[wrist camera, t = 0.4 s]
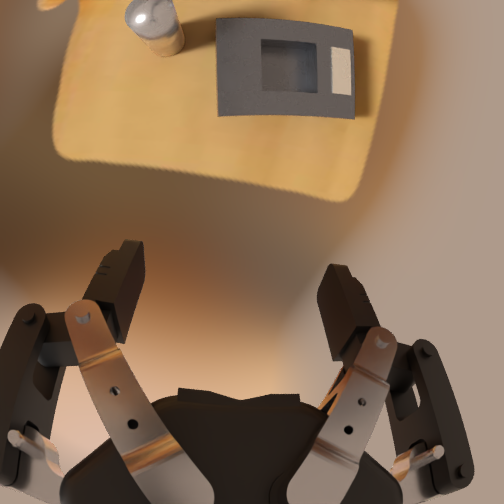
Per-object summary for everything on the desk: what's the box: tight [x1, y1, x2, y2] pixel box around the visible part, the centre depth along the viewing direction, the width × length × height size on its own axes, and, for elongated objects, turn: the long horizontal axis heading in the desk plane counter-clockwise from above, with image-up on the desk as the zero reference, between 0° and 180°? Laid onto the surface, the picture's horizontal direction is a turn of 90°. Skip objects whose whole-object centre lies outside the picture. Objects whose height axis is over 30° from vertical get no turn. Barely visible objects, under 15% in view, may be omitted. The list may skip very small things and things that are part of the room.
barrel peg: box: [125, 0, 185, 57], centre depth 21 cm, size 4×4×12 cm
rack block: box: [215, 18, 355, 119], centre depth 28 cm, size 12×16×5 cm
